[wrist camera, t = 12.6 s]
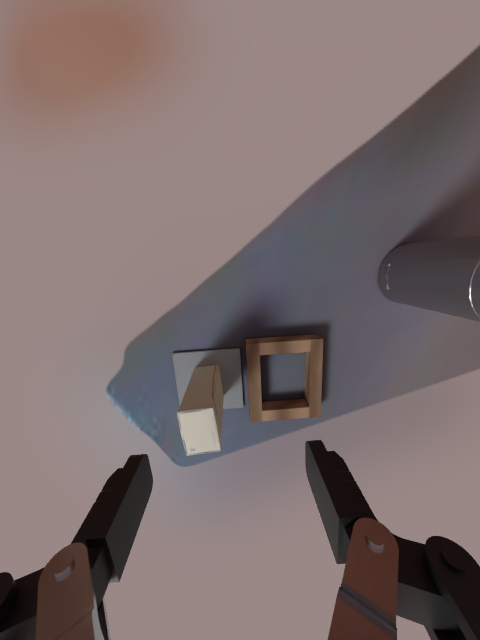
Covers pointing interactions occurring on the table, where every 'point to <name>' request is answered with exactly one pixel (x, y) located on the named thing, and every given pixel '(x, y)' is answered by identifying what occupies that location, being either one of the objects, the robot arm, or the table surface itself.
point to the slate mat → (222, 357)
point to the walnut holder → (313, 377)
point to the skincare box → (202, 411)
